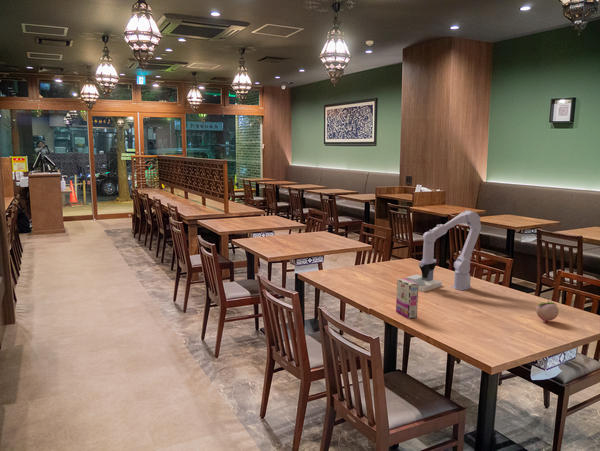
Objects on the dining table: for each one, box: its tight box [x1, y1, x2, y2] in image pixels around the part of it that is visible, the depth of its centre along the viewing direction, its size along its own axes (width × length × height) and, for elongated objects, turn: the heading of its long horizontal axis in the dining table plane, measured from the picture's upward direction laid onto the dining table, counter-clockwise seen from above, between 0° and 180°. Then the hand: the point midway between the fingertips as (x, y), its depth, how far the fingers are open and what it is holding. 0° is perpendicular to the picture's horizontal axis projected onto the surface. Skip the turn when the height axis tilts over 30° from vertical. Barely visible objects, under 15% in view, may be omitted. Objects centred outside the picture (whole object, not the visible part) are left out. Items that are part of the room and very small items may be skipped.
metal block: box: [422, 269, 435, 281], centre depth 270 cm, size 4×4×6 cm
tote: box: [418, 279, 443, 293], centre depth 274 cm, size 18×16×3 cm
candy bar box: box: [395, 278, 419, 320], centre depth 226 cm, size 11×5×16 cm, turn 21°
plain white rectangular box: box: [405, 274, 425, 286], centre depth 276 cm, size 10×6×5 cm, turn 133°
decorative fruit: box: [535, 300, 559, 323], centre depth 218 cm, size 9×8×10 cm
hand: (427, 277), depth 270 cm, fingers closed on metal block, 4 cm apart
